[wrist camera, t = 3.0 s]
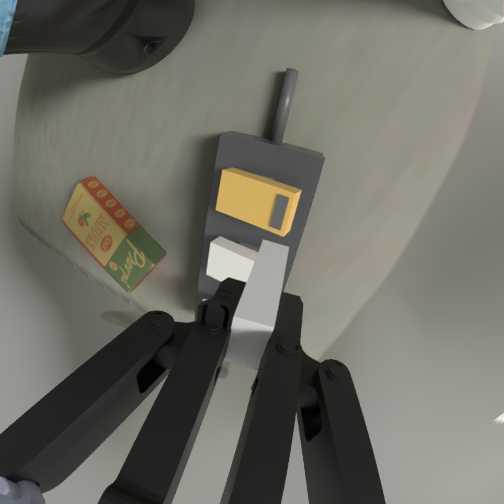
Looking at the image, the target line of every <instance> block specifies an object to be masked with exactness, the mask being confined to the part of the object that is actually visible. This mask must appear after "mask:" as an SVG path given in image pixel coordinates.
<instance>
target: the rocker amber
mask: <svg viewBox="0 0 504 504" xmlns="http://www.w3.org/2000/svg"><path fill="white" fill-rule="evenodd" d="M300 194H301V190H300V189H298V188H295V187H292V186H289V185H286V184H283V183H280V182H277V181H274V180H271V179H268V178H265V177H262V176H259V175H256V174H252V173H249V172H246V171H243V170H239V169H236V168H233V167H232V168H228V169H223V170H222V175H221V181H220V187H219V193H218V199H217V205H216V210H217V211H219V212H222V213H224V214H227V215H230V216H232V217H235V218H237V219H240V220H242V221H245V222H248V223H250V224H253V225H255V226H258V227H260V228H263V229H265V230H268V231H270V232H273V233H275V234H278V235H280V236H283V237H284V236H285V235H286V234H287V233H288V232H289V231H290V229H291V226H292V222H293V219H294V215H295V212H296V208H297V205H298V201H299V198H300Z"/></svg>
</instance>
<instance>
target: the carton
mask: <svg viewBox="0 0 504 504" xmlns="http://www.w3.org/2000/svg"><path fill="white" fill-rule="evenodd" d="M62 222H63V223H64V224H65V226H66V227H67V228H68V229H69V230H70V232H71V233H72V234H73V235H74V236H75V237H76V238H77V240H78V241H79V242H80V243H81V244H82V245H83V246H84V247H85V249H86V250H87V251H88V252H89V253H90V254H91V255H92V256H93V257H94V258H95V260H96V261H97V262H98V263H99V264H100V265H101V266H102V267H103V268H104V269H105V270H106V271H107V272H108V273H109V274H110V275H111V276H112V278H113V279H114V280H115V281H116V282H118V283H119V284H120V285H121V286H122V287H123V289H125V290H126V291H127V292H128V293H130V292H131V291H133V290H134V289H135V288H136V287H137V286H138V285H139V284H140V283H141V282H142V281H143V279H144V278H145V277H146V276H147V275H148V274H149V273H150V272H151V271H152V270H153V268H154V267H155V266H156V265H157V264H158V263H159V262H160V261H161V260H162V259H163V258H164V256H165V255H166V251H165V250H164V249H163V248H162V247H161V246H160V245H159V244H158V243H157V242H156V241H155V240H154V239H153V238H152V237H151V236H150V235H149V234H148V233H147V232H146V231H145V230H144V229H143V228H142V227H141V226H140V225H139V224H138V223H137V222H136V221H135V220H134V219H133V218H132V217H131V215H130V214H129V213H128V212H127V211H126V210H125V209H124V208H123V207H122V206H121V205H120V204H119V202H118V201H117V200H116V199H115V198H114V197H113V196H112V195H111V194H110V193H109V192H108V190H107V189H106V188H105V187H104V186H103V185H102V184H101V183H100V181H99V180H98V179H97V178H96V177H95V176H93V177H90V178H88V179H86V180H84V181H82V182H80V183H78V185H77V186H76V188H75V190H74V192H73V194H72V197H71V199H70V201H69V203H68V206H67V208H66V210H65V213H64V215H63V218H62Z"/></svg>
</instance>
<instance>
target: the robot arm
mask: <svg viewBox="0 0 504 504" xmlns="http://www.w3.org/2000/svg"><path fill="white" fill-rule="evenodd" d="M193 13H194V0H0V57H2V56H3V55H8V54H23V53H53V54H74V55H79V56H81V57H82V58H84V59H85V60H87V61H88V62H90V63H92V64H93V65H95V66H96V67H98V68H99V69H102V70H104V71H107V72H113V73H126V74H127V73H134V72H138V71H142V70H144V69H147V68H149V67H151V66H153V65H154V64H156V63H157V62H159V61H160V60H162V59H163V58H164V57H166V56H167V55H168V54H169V53H170V52H171V51H172V50H173V49H174V48H175V47H176V46H177V45H178V43H179V42H180V41H181V39H182V38H183V37H184V35H185V33H186V32H187V30H188V28H189V26H190V23H191V21H192V17H193ZM288 251H289V247H288V246H284V245H281V244H277V243H274V242H270V241H266V240H263V241H262V244H261V247H260V249H259V252H258V254H257V257H256V260H255V262H254V265H253V267H252V270H251V273H250V275H249V278H248V280H247V282H243V281H240V280H237V279H233V278H230V277H228V278H226V279H225V280H223V281H221V283H220V285H219V287H218V289H217V291H216V292H215V295H214V296H213V298H212V299H210V300H205V301H203V302H201V303H200V304H199V305H198V310H197V319H196V321H194V322H190V323H183V322H175V321H174V319H173V317H172V316H171V315H169V314H168V313H166V312H163V311H157V310H156V311H150V312H148V313H146V314H144V315H143V316H142V317H141V318H139V319H138V320H137V321H136V322H134V323H133V324H132V325H131V326H129V327H128V328H127V329H126V330H124V331H123V332H122V333H121V334H120V335H118V336H117V337H116V338H115V339H113V340H112V341H111V342H110V343H108V344H107V345H106V346H105V347H103V348H102V349H101V350H100V351H98V352H97V353H96V354H95V355H94V356H93V357H91V358H90V359H89V360H88V361H86V362H85V363H84V364H83V365H81V366H80V367H79V368H78V369H76V370H75V371H74V372H73V373H72V374H70V375H69V376H68V377H67V378H66V379H64V380H63V381H62V382H61V383H60V384H58V385H57V386H56V387H55V388H54V389H52V390H51V391H50V392H49V393H48V394H47V395H45V396H44V397H43V398H42V399H41V400H40V401H38V402H37V403H36V404H35V405H34V406H32V407H31V408H30V409H29V410H28V411H27V412H25V413H24V414H23V415H22V416H21V417H20V418H18V420H16V421H15V422H14V423H13V424H12V425H10V426H9V427H8V428H7V429H6V430H5V431H3V432H2V434H0V504H45V500H44V498H43V495H42V493H45V492H47V491H49V490H51V489H53V488H55V487H56V486H58V485H59V484H61V483H62V482H63V481H64V480H65V479H66V478H67V477H68V476H70V475H71V474H72V472H74V471H75V470H76V469H77V467H79V466H80V465H81V464H82V463H83V462H84V461H85V460H86V459H87V458H88V457H89V456H90V455H91V454H92V453H93V452H94V451H95V450H96V449H97V448H98V447H99V446H100V445H101V444H102V443H103V442H104V441H105V440H106V438H108V437H109V436H110V435H111V434H112V433H113V432H114V430H115V429H116V428H117V427H118V426H119V425H120V424H121V423H122V422H123V421H124V420H125V419H126V418H127V417H128V416H129V415H130V414H131V413H132V412H133V411H134V410H135V409H136V408H137V406H139V405H140V404H141V403H142V401H143V400H144V399H145V398H146V397H147V396H148V395H149V394H150V393H151V392H152V391H153V390H154V389H155V388H156V387H157V386H158V385H159V384H160V382H161V381H162V380H163V379H164V378H165V377H166V376H167V375H168V374H169V375H168V377H167V379H166V381H165V382H164V385H163V387H162V388H161V390H160V392H159V394H158V396H157V398H156V400H155V402H154V404H153V406H152V408H151V410H150V412H149V414H148V416H147V418H146V420H145V422H144V424H143V426H142V428H141V430H140V432H139V434H138V436H137V438H136V440H135V442H134V444H133V446H132V448H131V450H130V452H129V454H128V456H127V458H126V460H125V462H124V465H123V466H122V469H121V471H120V473H119V475H118V477H117V478H116V480H115V481H114V483H112V484H111V485H109V486H108V487H107V488H106V490H105V491H104V492H103V494H102V496H101V498H100V500H99V502H98V504H172V501H173V498H174V496H175V493H176V490H177V488H178V485H179V483H180V480H181V477H182V475H183V472H184V469H185V466H186V464H187V461H188V459H189V456H190V453H191V451H192V448H193V445H194V442H195V440H196V437H197V434H198V432H199V429H200V426H201V424H202V421H203V418H204V415H205V413H206V410H207V407H208V404H209V402H210V399H211V396H212V393H213V391H214V388H215V385H216V382H217V380H218V377H219V374H220V371H221V367H222V363H223V361H227V362H231V363H234V364H237V365H241V366H244V367H248V368H251V369H255V370H258V373H257V375H256V378H255V380H254V383H253V385H252V388H251V389H252V392H251V396H250V400H249V404H248V407H247V412H246V415H245V419H244V422H243V426H242V430H241V434H240V437H239V441H238V444H237V448H236V451H235V455H234V458H233V462H232V465H231V469H230V472H229V475H228V479H227V482H226V485H225V489H224V492H223V495H222V498H221V502H220V504H281V501H282V495H283V490H284V485H285V480H286V474H287V468H288V463H289V457H290V451H291V444H292V437H293V430H294V423H295V416H296V412H297V419H298V425H299V433H300V439H301V447H302V454H303V461H304V468H305V475H306V483H307V491H308V499H309V504H386V503H385V499H384V494H383V490H382V485H381V481H380V477H379V473H378V469H377V465H376V461H375V457H374V453H373V449H372V445H371V442H370V438H369V435H368V431H367V427H366V424H365V420H364V417H363V413H362V410H361V407H360V403H359V400H358V397H357V394H356V390H355V387H354V384H353V381H352V378H351V374H350V372H349V370H348V368H347V367H346V366H345V365H344V364H343V363H341V362H339V361H337V360H333V359H329V360H325V361H323V362H321V363H320V362H318V361H316V360H314V359H312V358H311V357H309V356H308V355H307V354H306V353H305V352H304V351H303V350H302V346H301V345H300V337H301V326H302V314H303V313H302V312H303V303H302V301H301V298H300V297H299V296H296V295H292V294H289V293H285V292H281V290H282V285H283V279H284V274H285V268H286V262H287V257H288ZM258 368H259V369H258Z"/></svg>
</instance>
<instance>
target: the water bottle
mask: <svg viewBox="0 0 504 504" xmlns="http://www.w3.org/2000/svg"><path fill="white" fill-rule="evenodd" d="M443 2H444V4H445V6H446V7H447V9H448V10H449V11H450V13H451V14H452V15H453V16H454V17H455V18H456V19H457V20H458V21H460V22H461V23H462V24H464V25H465V26H467V27H469V28H472V29H475V30H481V29H484V28H487V27H489V26H491V25H493V24H494V23H501V22H504V0H443Z"/></svg>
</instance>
